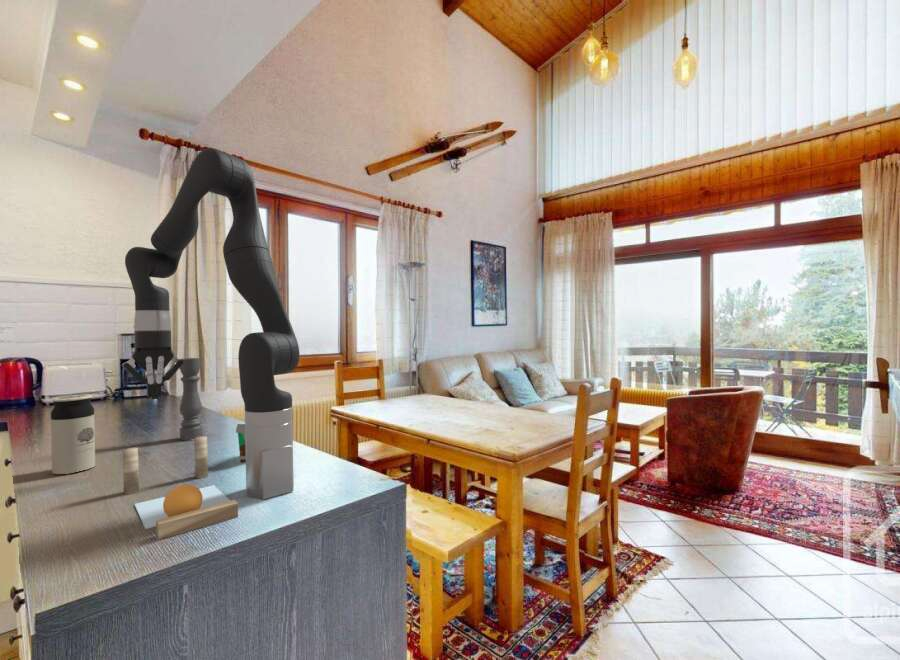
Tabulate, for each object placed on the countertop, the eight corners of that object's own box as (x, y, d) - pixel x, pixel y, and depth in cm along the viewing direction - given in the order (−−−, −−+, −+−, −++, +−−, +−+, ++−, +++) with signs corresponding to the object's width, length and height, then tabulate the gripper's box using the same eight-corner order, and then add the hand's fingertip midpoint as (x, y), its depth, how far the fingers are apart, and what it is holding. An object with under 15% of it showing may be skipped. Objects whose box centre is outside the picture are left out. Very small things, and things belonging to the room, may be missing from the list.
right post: (209, 476, 99) (208, 437, 99) (196, 479, 97) (195, 439, 97) (206, 473, 101) (205, 435, 101) (193, 476, 99) (193, 437, 99)
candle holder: (175, 439, 132) (173, 359, 132) (193, 434, 138) (192, 357, 138) (189, 441, 130) (187, 359, 130) (207, 436, 136) (205, 358, 136)
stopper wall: (238, 516, 77) (237, 503, 77) (158, 539, 69) (158, 524, 69) (234, 513, 79) (234, 499, 79) (156, 535, 71) (156, 520, 71)
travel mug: (44, 473, 103) (42, 398, 103) (83, 463, 110) (81, 393, 110) (64, 477, 100) (62, 400, 100) (102, 466, 107) (101, 395, 107)
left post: (139, 491, 90) (139, 449, 90) (124, 495, 88) (123, 451, 88) (138, 488, 92) (137, 446, 92) (123, 491, 90) (122, 449, 90)
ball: (198, 498, 82) (205, 520, 78) (160, 508, 78) (165, 532, 74) (199, 473, 80) (206, 494, 76) (160, 482, 76) (166, 505, 72)
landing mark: (233, 505, 82) (233, 504, 82) (145, 529, 73) (145, 528, 73) (214, 486, 93) (214, 485, 93) (134, 505, 83) (134, 504, 83)
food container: (258, 465, 106) (257, 425, 106) (236, 464, 108) (235, 424, 108) (286, 451, 118) (285, 415, 118) (266, 450, 120) (266, 414, 120)
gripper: (121, 329, 99) (122, 404, 99) (187, 328, 108) (188, 397, 108) (117, 329, 104) (119, 400, 104) (180, 328, 113) (182, 394, 113)
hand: (154, 398), depth 106 cm, fingers closed
